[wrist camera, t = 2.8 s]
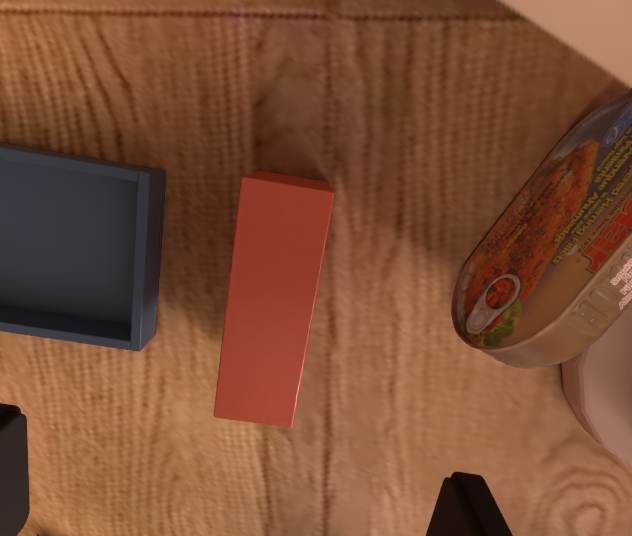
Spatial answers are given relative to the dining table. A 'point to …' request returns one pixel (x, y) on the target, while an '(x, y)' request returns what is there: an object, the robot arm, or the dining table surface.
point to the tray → (79, 247)
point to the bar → (271, 295)
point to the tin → (557, 251)
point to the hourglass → (604, 387)
